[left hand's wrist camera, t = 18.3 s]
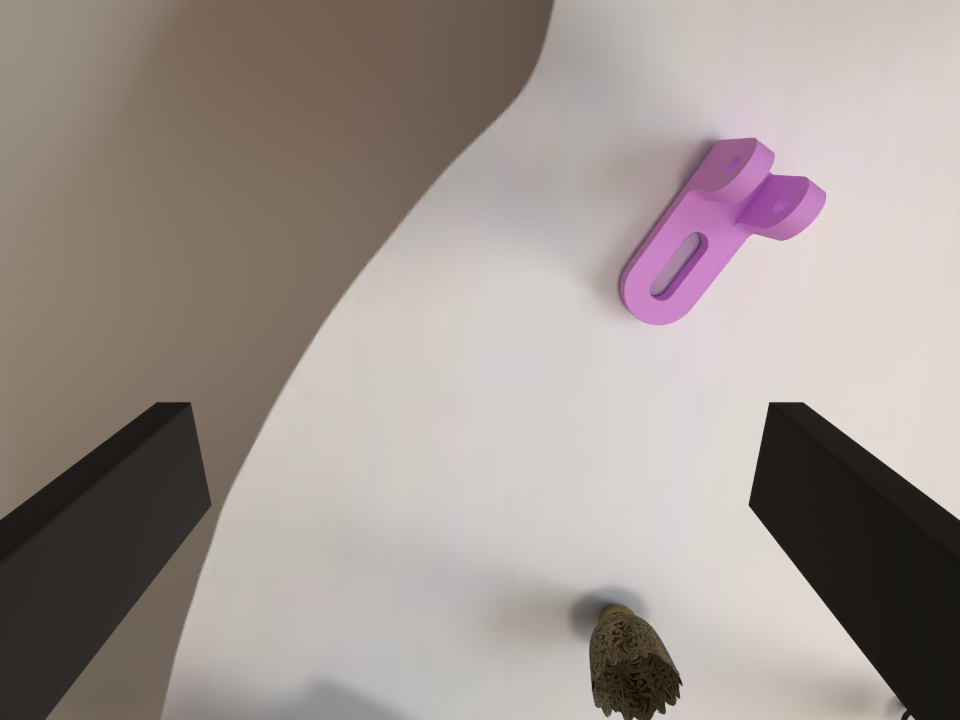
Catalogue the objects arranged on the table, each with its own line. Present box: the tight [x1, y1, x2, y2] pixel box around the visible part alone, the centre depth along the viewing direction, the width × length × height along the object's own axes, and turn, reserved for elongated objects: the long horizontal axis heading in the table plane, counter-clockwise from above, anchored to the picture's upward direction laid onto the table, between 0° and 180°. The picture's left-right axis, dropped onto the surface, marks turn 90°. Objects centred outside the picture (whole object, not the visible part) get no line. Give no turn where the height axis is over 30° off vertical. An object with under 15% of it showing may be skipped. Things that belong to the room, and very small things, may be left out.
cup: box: [589, 605, 683, 720], centre depth 49 cm, size 8×7×8 cm
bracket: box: [620, 138, 826, 325], centre depth 37 cm, size 13×6×7 cm, turn 148°
